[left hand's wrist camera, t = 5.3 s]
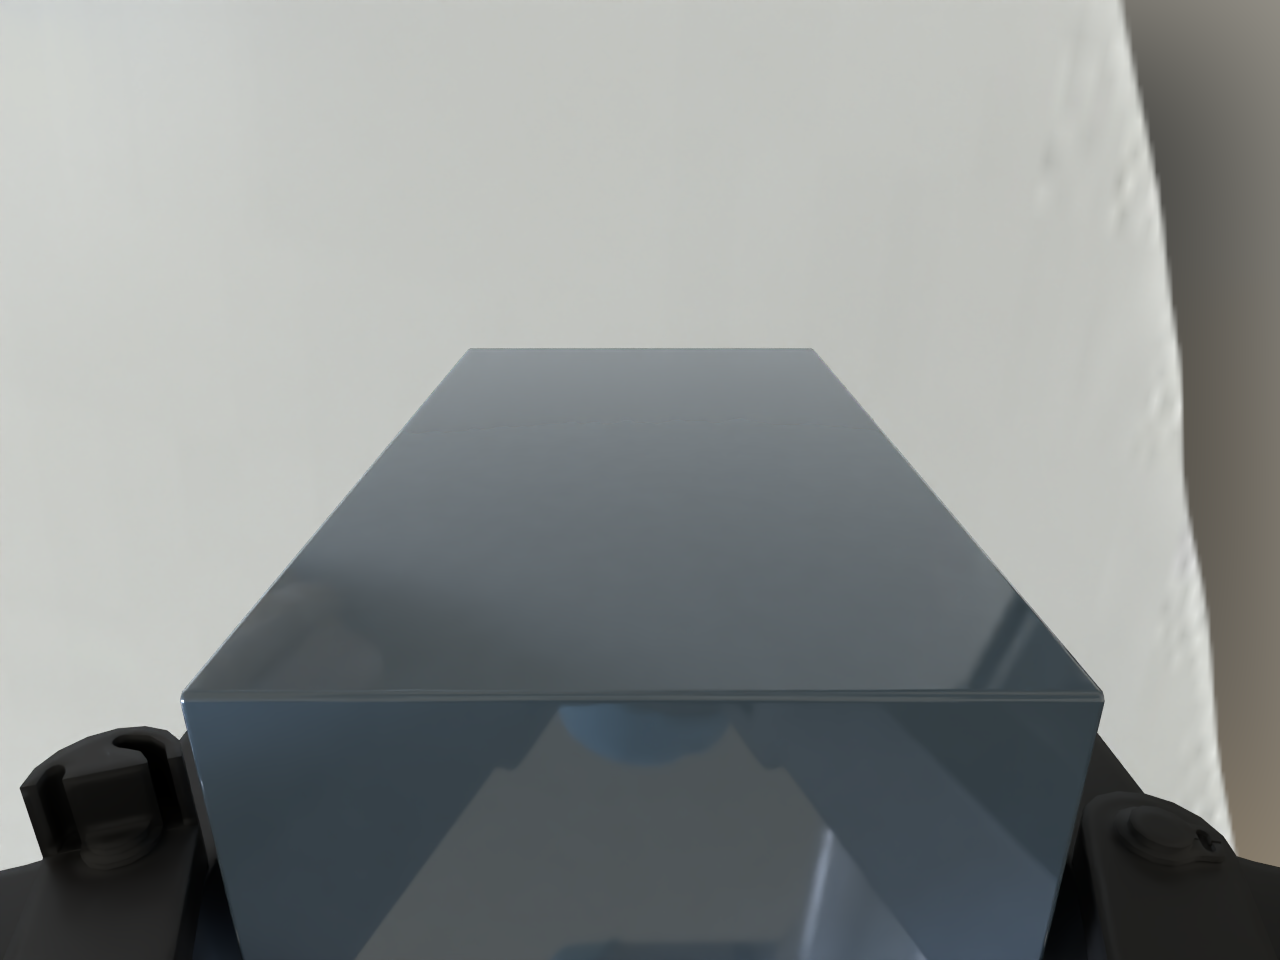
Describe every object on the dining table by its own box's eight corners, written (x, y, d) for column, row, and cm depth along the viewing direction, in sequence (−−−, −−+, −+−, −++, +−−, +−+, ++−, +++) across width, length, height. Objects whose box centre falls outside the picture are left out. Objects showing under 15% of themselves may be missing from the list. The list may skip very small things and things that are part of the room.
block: (791, 648, 18) (973, 1259, 8) (490, 649, 18) (309, 1260, 8) (814, 347, 16) (1109, 694, 6) (467, 347, 16) (174, 696, 6)
